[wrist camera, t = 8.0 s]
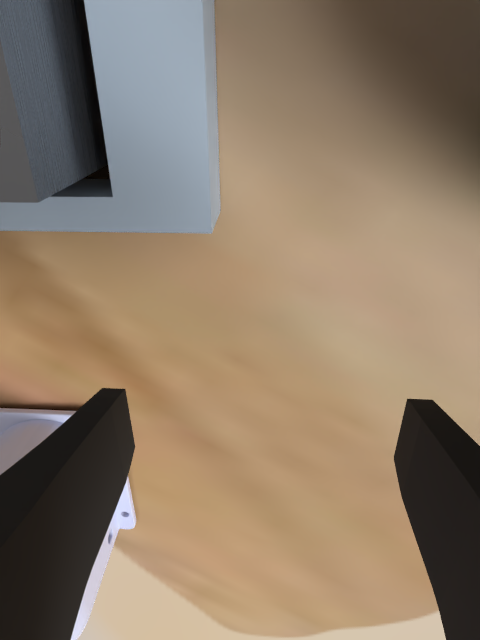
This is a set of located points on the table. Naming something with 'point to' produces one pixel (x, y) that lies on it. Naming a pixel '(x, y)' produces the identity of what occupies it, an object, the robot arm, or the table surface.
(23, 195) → the tall dark grey prism
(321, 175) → the table surface
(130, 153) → the slotted pale blue plate
